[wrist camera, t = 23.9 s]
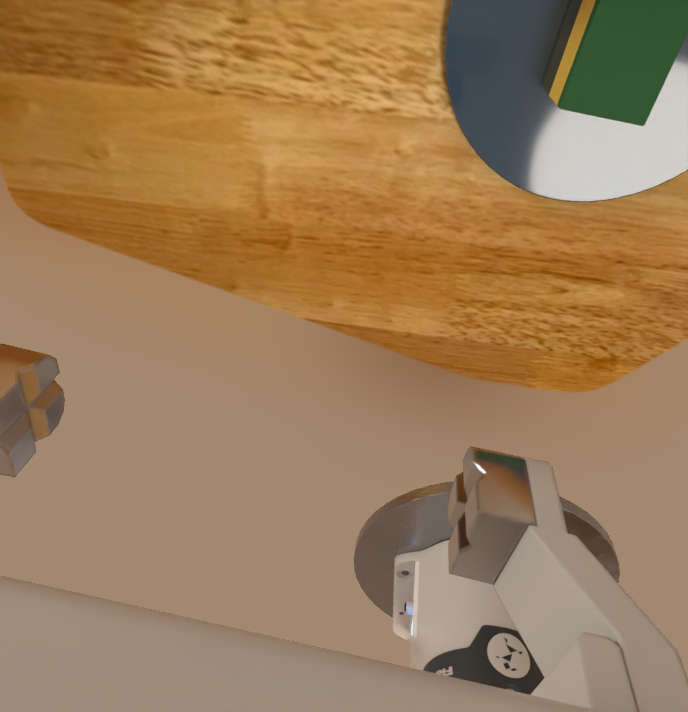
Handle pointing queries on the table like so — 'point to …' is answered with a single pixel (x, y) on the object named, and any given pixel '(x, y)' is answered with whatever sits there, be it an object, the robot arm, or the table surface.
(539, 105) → the plate
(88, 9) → the table surface
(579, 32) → the sponge
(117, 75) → the table surface
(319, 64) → the table surface
